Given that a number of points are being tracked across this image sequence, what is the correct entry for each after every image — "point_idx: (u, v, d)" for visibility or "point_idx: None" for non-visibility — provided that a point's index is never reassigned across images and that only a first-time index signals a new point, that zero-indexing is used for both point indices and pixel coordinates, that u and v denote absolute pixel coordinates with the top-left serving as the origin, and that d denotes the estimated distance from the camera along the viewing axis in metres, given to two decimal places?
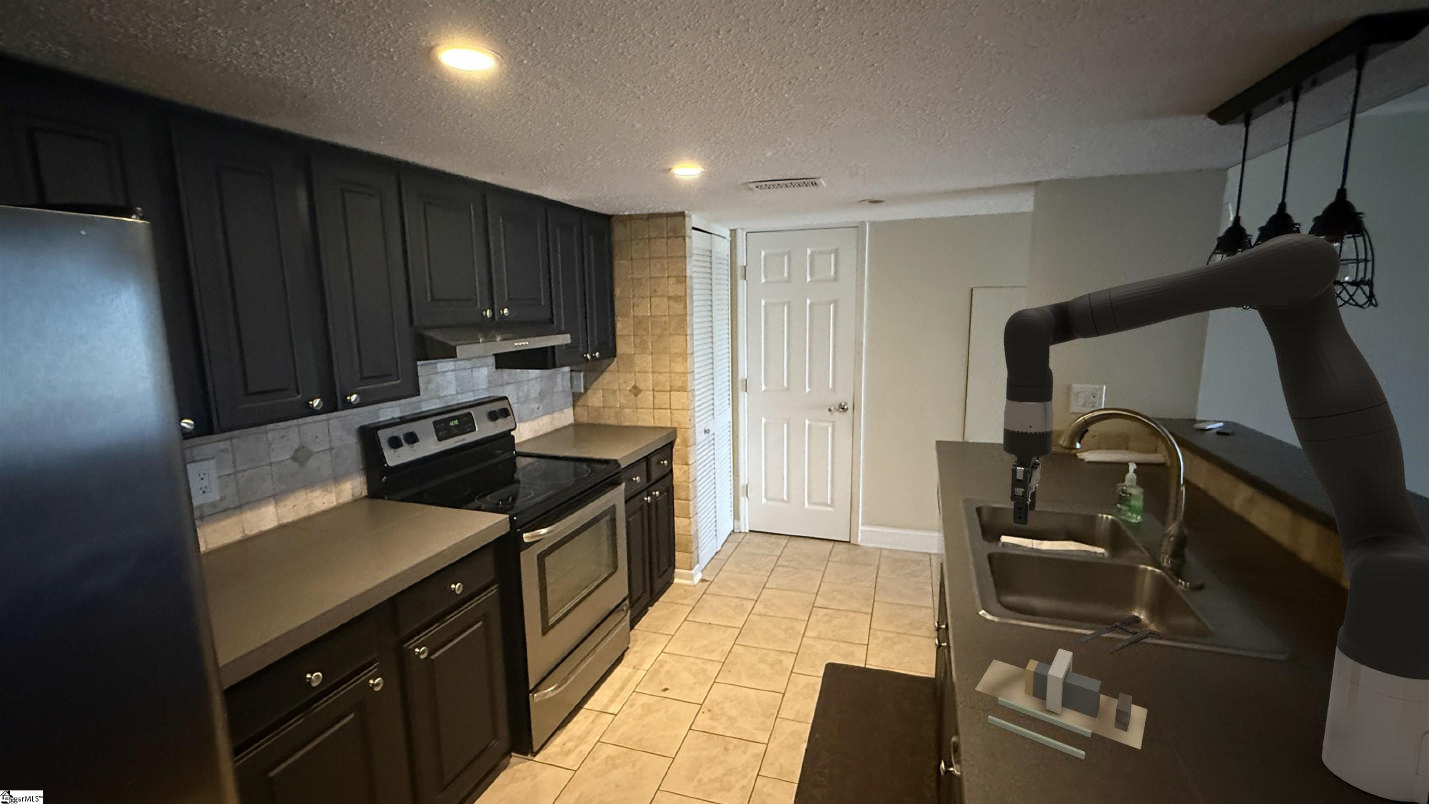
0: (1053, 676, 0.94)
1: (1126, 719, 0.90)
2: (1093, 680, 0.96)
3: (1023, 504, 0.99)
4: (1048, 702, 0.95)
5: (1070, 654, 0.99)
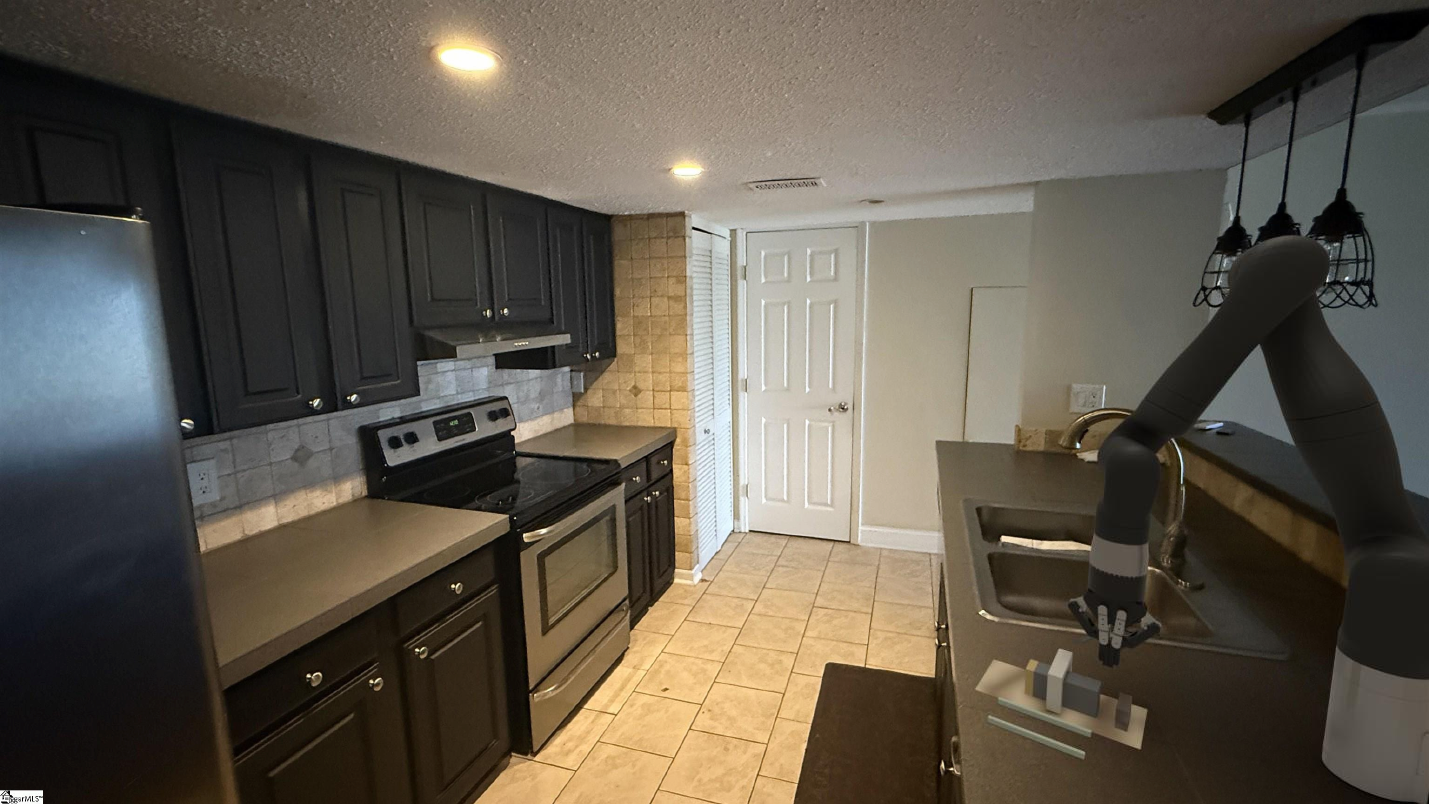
0: (1053, 676, 0.94)
1: (1126, 719, 0.90)
2: (1093, 680, 0.96)
3: None
4: (1048, 702, 0.95)
5: (1070, 654, 0.99)
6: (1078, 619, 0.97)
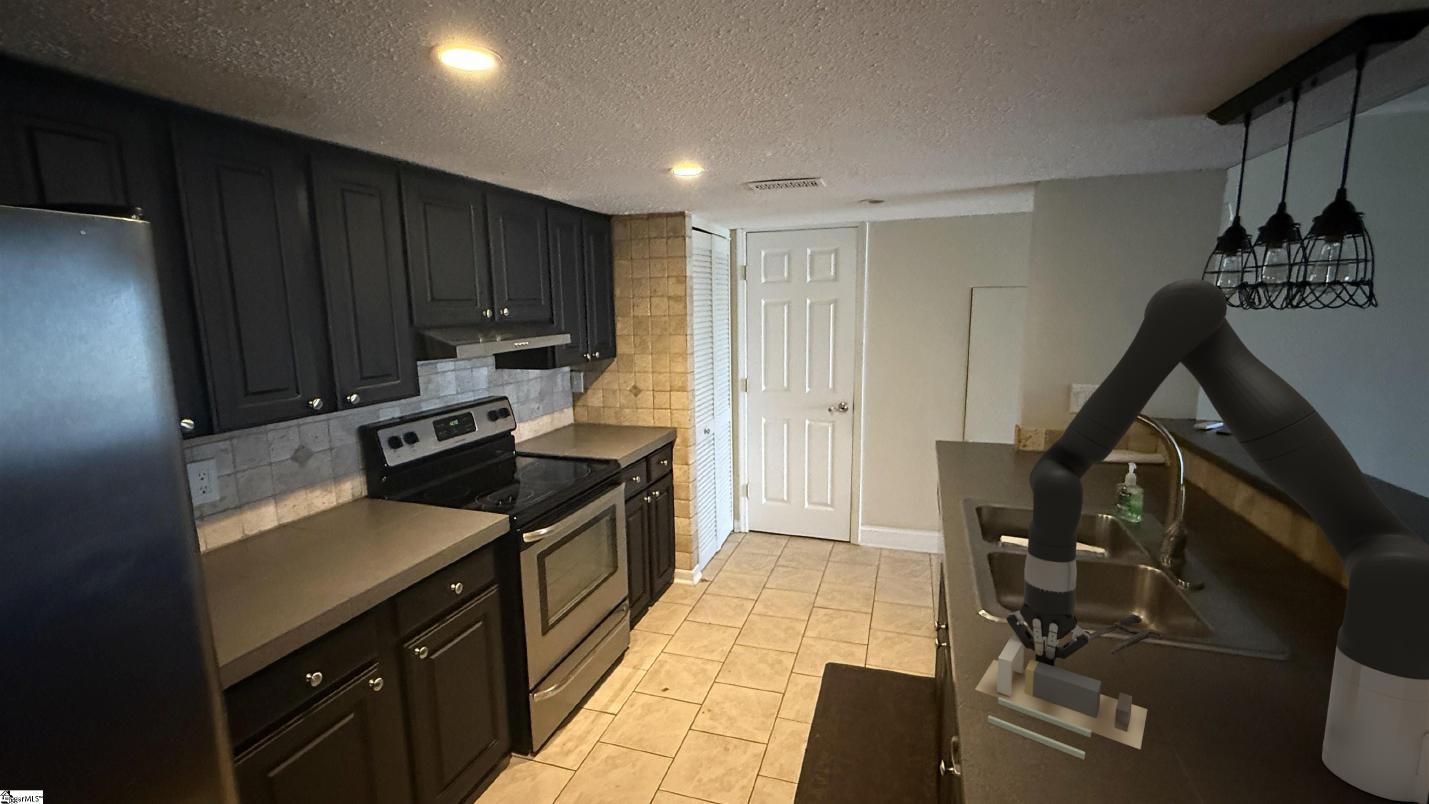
0: (1003, 660, 0.99)
1: (1126, 719, 0.90)
2: (1093, 680, 0.96)
3: None
4: (999, 685, 1.00)
5: None
6: (1016, 632, 1.04)
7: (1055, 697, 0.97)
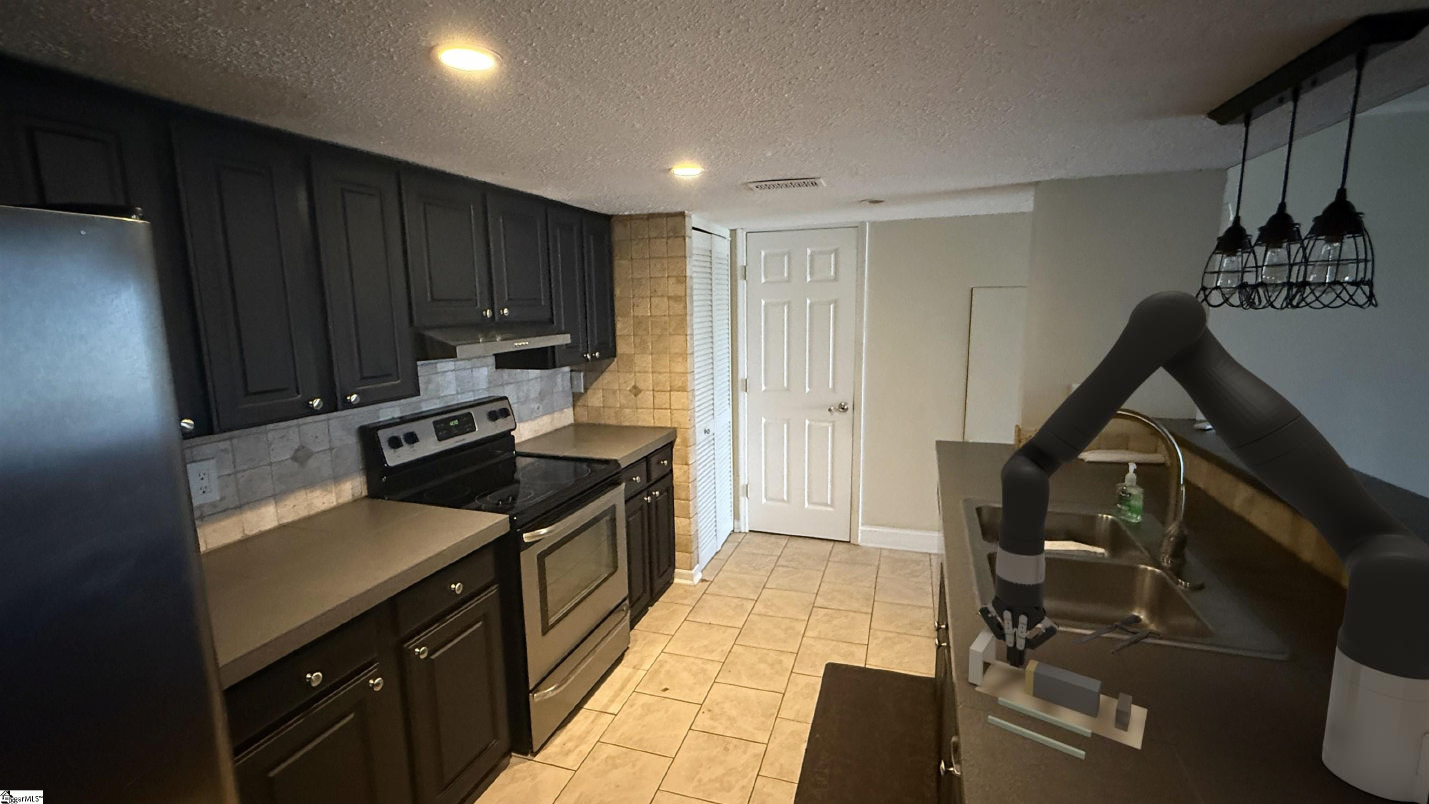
0: (974, 650, 1.02)
1: (1126, 719, 0.90)
2: (1093, 680, 0.96)
3: None
4: (970, 675, 1.03)
5: None
6: (988, 623, 1.07)
7: (1055, 697, 0.97)
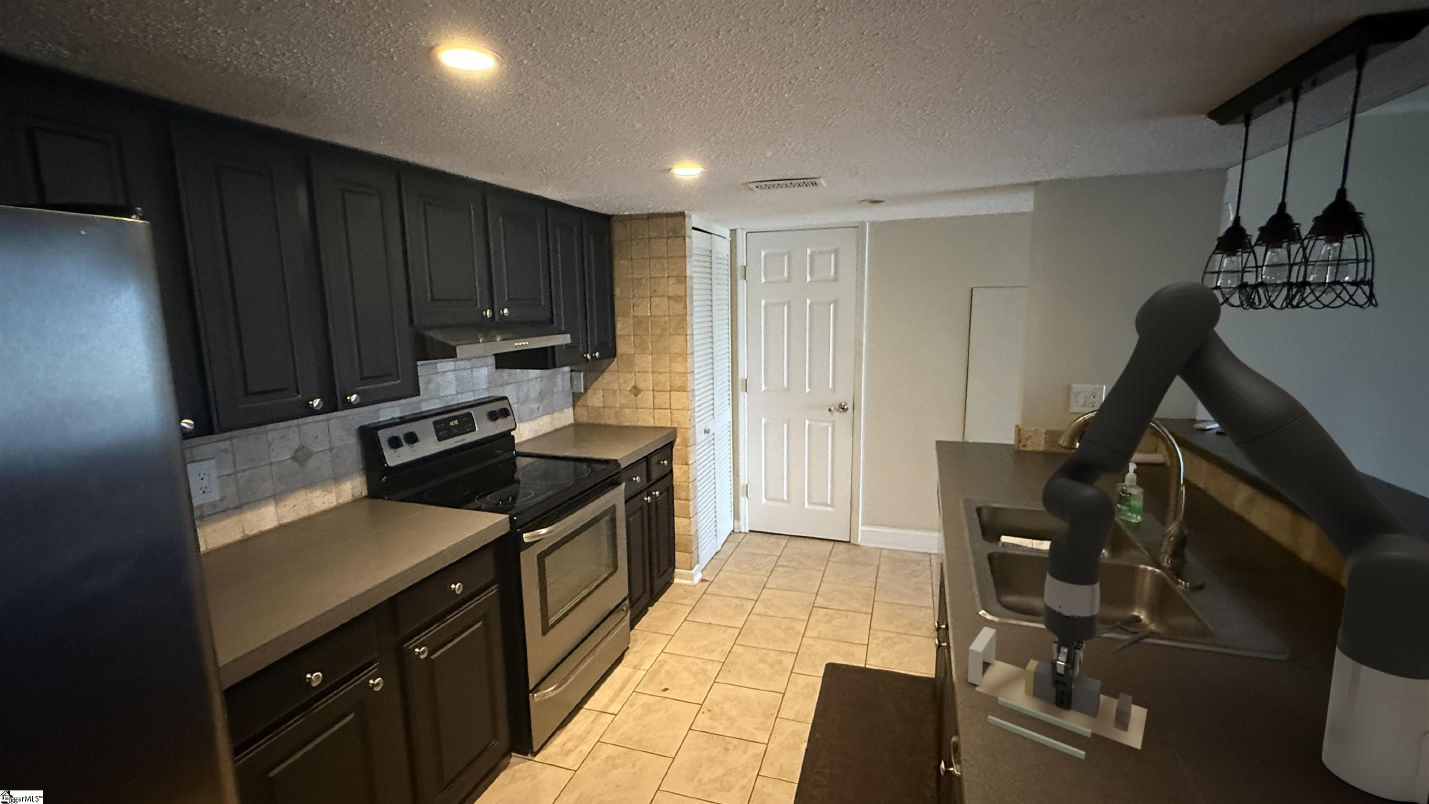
0: (973, 650, 1.02)
1: (1126, 719, 0.90)
2: (1093, 680, 0.96)
3: None
4: (970, 675, 1.03)
5: (993, 631, 1.07)
6: (1069, 679, 0.92)
7: None
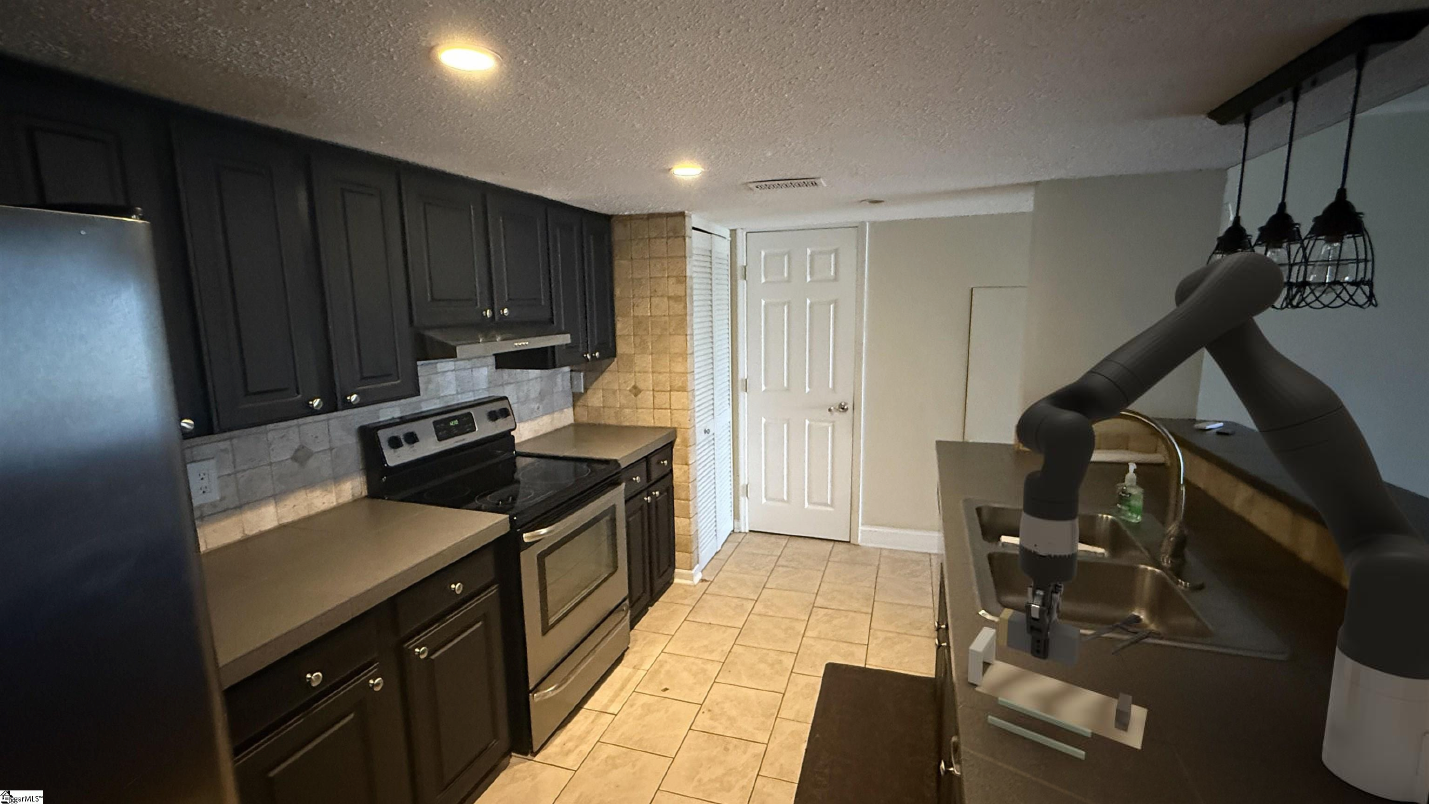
0: (973, 650, 1.02)
1: (1126, 719, 0.90)
2: (1071, 627, 0.88)
3: None
4: (970, 675, 1.03)
5: (993, 631, 1.07)
6: (1045, 624, 0.84)
7: (1030, 646, 0.89)
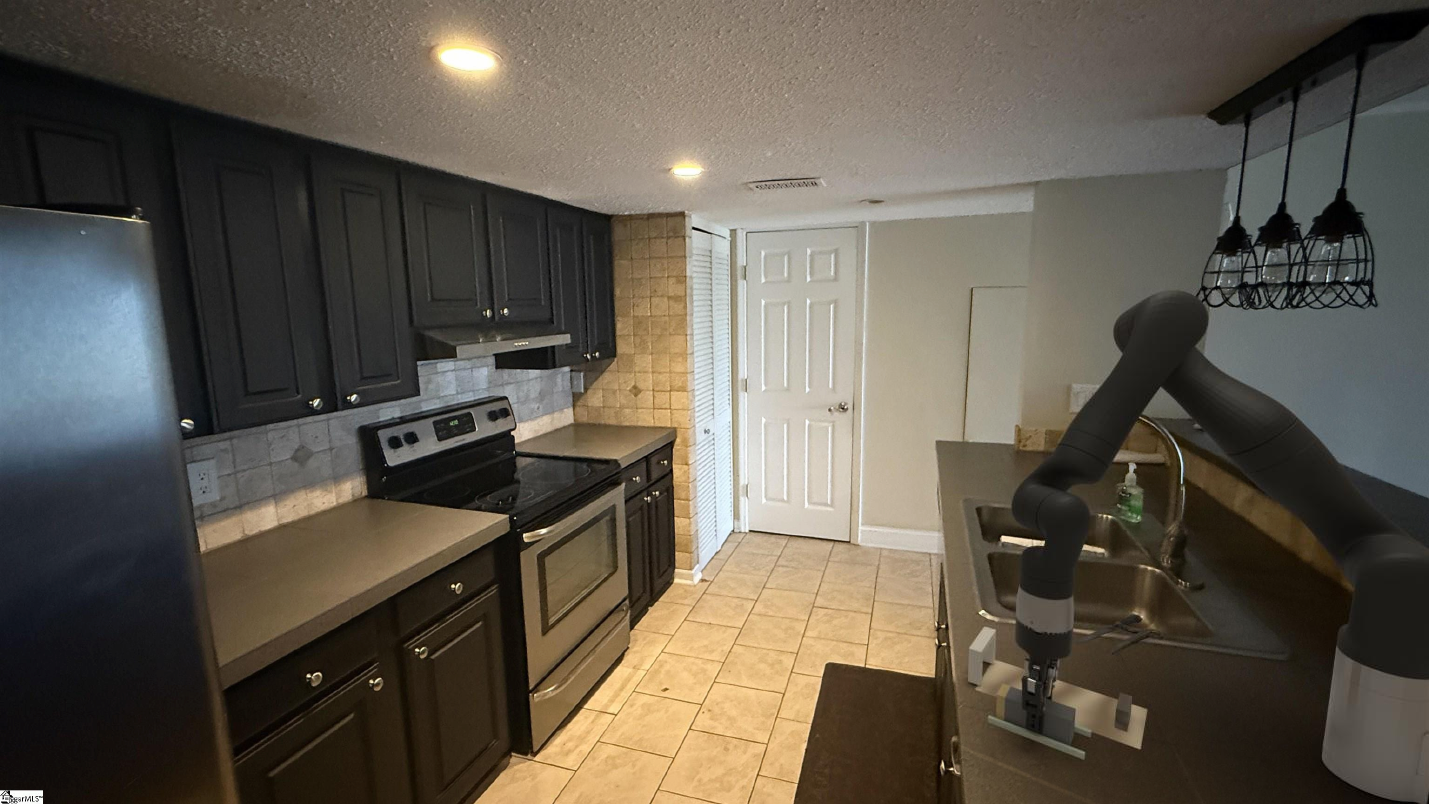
0: (973, 650, 1.02)
1: (1126, 719, 0.90)
2: (1067, 707, 0.90)
3: None
4: (970, 675, 1.03)
5: (993, 631, 1.07)
6: (1041, 699, 0.85)
7: None
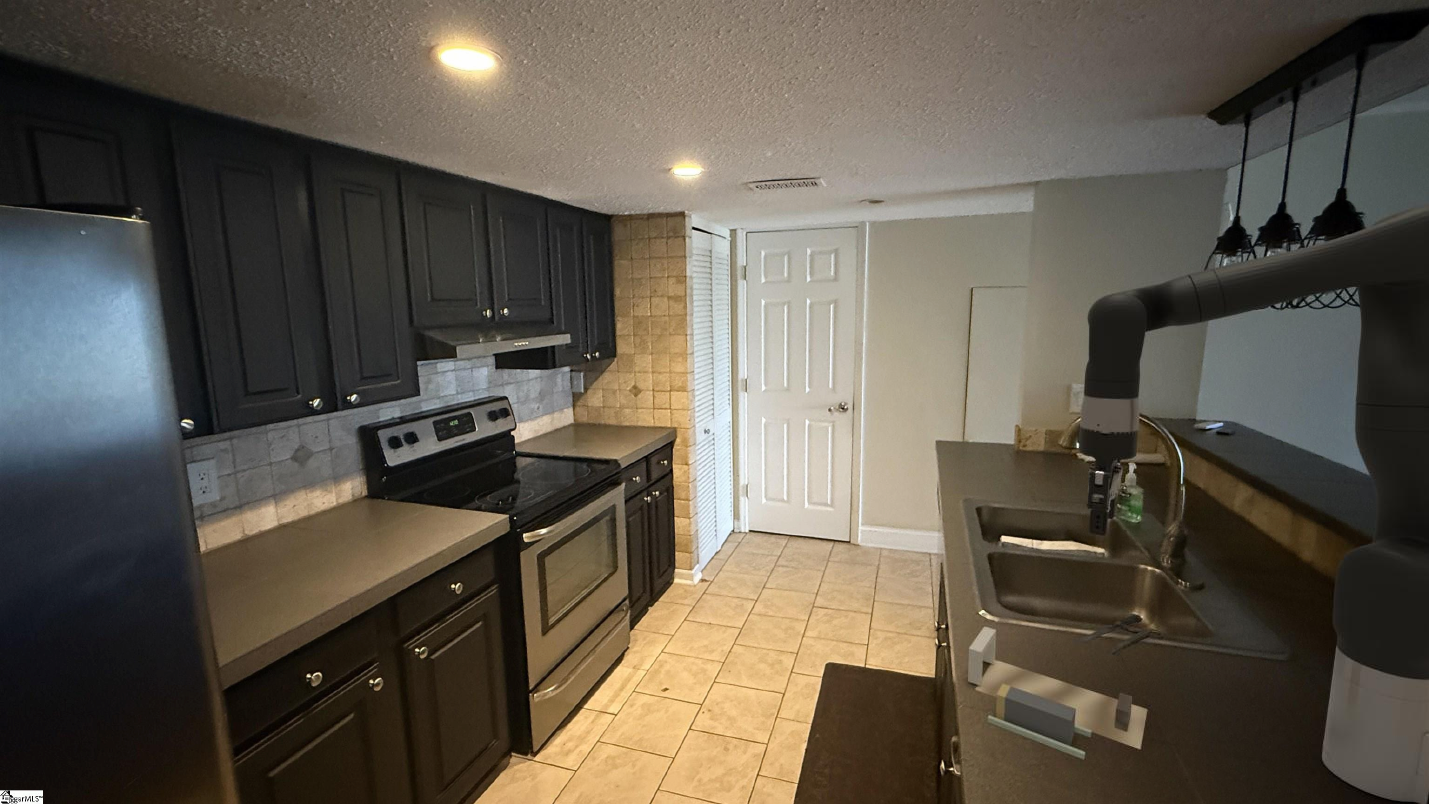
0: (973, 650, 1.02)
1: (1126, 719, 0.90)
2: (1067, 707, 0.90)
3: None
4: (970, 675, 1.03)
5: (993, 631, 1.07)
6: (1108, 491, 0.87)
7: (1027, 725, 0.91)
